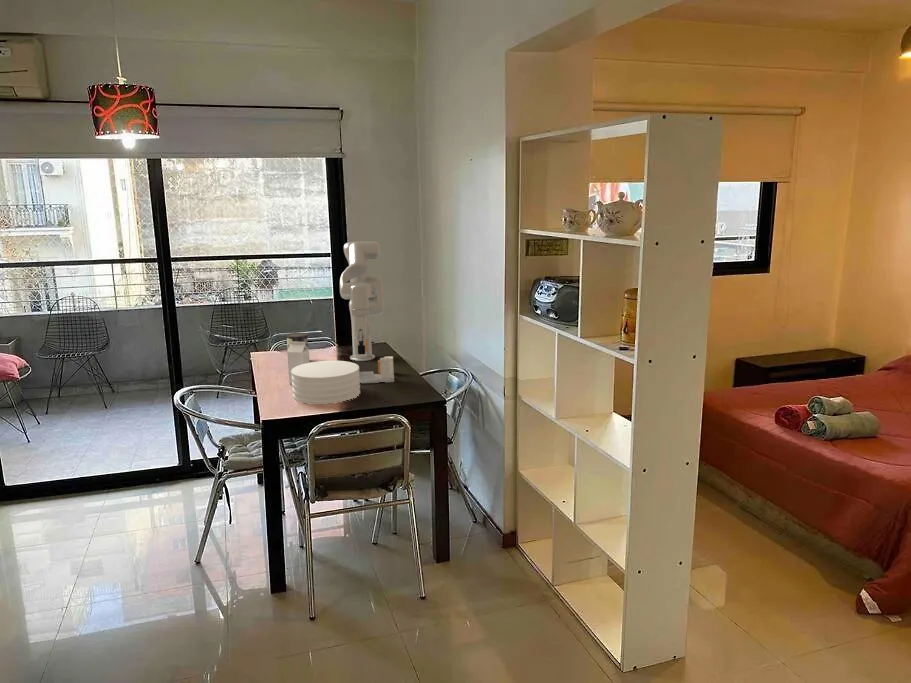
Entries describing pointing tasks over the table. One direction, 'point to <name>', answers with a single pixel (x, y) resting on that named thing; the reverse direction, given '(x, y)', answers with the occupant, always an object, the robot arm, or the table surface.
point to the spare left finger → (390, 364)
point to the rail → (376, 378)
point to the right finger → (365, 347)
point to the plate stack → (325, 382)
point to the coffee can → (297, 338)
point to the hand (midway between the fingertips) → (361, 352)
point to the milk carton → (297, 356)
